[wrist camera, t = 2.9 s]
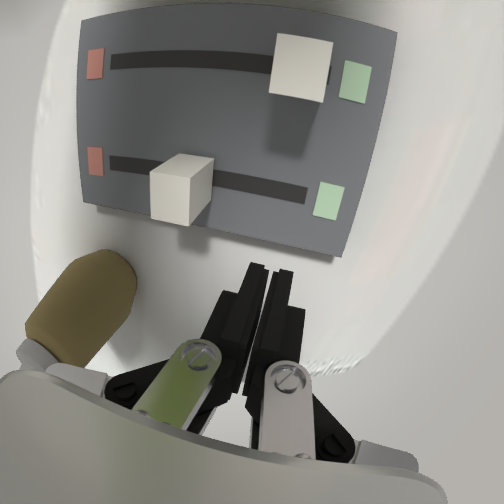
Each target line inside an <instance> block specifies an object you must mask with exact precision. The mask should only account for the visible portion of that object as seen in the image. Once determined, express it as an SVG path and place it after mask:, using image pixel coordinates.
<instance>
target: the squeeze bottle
mask: <svg viewBox="0 0 504 504" xmlns="http://www.w3.org/2000/svg"><path fill="white" fill-rule="evenodd" d="M136 287H137V279H136V276H135V273H134V271H133V269H132V267H131V266H130V265H129V263H128V262H127V261H126V260H125V259H124V258H123V257H121V256H120V255H119V254H117V253H115V252H113V251H110V250H99V251H96V252H94V253H91V254H88V255H86V256H83V257H80V258H78V259H76V260H74V261H73V262H72V263H70V264H69V265H68V267H67V268H66V269H65V270H64V272H63V273H62V274H61V275H60V277H59V278H58V279H57V280H56V282H55V283H54V284H53V286H52V287H51V288H50V289H49V291H48V292H47V293H46V295H45V296H44V297H43V299H42V300H41V301H40V303H39V304H38V306H37V307H36V308H35V310H34V311H33V313H32V314H31V315H30V317H29V318H28V320H27V321H26V323H25V330H26V336H27V339H26V340H24V342H23V343H22V344H21V345H20V347H19V348H18V349H17V350H16V354H17V357H18V358H19V360H20V362H21V363H22V365H21V367H20V369H19V370H33V371H39V372H45V371H46V369H47V368H48V367H49V366H51V365H52V364H55V363H64V364H68V365H72V366H76V367H81V368H85V366H86V365H87V364H88V363H89V362H90V361H91V359H92V358H93V357H94V356H95V355H96V353H97V352H98V351H99V350H100V349H101V348H102V347H103V345H104V344H105V343H106V342H107V341H108V340H109V338H110V337H111V336H112V335H113V334H114V333H115V332H116V330H117V329H118V328H119V327H120V326H121V325H122V324H123V322H124V321H125V320H126V319H127V317H128V315H129V314H130V311H131V307H132V303H133V299H134V295H135V291H136Z"/></svg>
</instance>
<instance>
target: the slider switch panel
mask: <svg viewBox="0 0 504 504" xmlns="http://www.w3.org/2000/svg"><path fill="white" fill-rule="evenodd" d="M277 33H281V34H289V35H295V36H302V37H308V38H313V39H318V40H324V41H328V42H333V48H332V54H331V60H330V66H329V71H328V77H327V83H326V88H325V94H324V99H323V103H322V102H317V101H313V100H308V99H303V98H298V97H292V96H286V95H281V94H274V93H269V87H270V80H271V73H272V66H273V60H274V53H275V46H276V40H277ZM396 39H397V32H395V31H392V30H388V29H385V28H382V27H379V26H375V25H372V24H368V23H365V22H361V21H357V20H353V19H349V18H345V17H340V16H336V15H331V14H326V13H321V12H315V11H309V10H303V9H296V8H288V7H280V6H270V5H257V4H238V3H198V4H179V5H167V6H157V7H149V8H142V9H135V10H128V11H123V12H117V13H112V14H107V15H102V16H98V17H94V18H90V19H86V20H82V21H81V29H80V39H79V50H78V65H77V139H78V155H79V168H80V178H81V187H82V195H83V202H86V203H91V204H96V205H101V206H106V207H110V208H115V209H120V210H125V211H130V212H135V213H140V214H145V215H149V216H151V205H150V171H152V170H153V169H155V168H156V167H158V166H160V165H161V164H163V163H164V162H166V161H168V160H169V159H171V158H172V157H174V156H176V155H177V154H179V153H180V154H188V155H195V156H202V157H208V158H214V167H213V179H212V192H211V200H210V202H209V203H208V204H207V205H206V206H205V208H204V209H203V210H202V211H201V212H200V214H199V215H198V216H197V217H196V218H195V220H194V221H193V222H192V223H191V224H192V225H197V226H202V227H206V228H211V229H215V230H220V231H225V232H229V233H234V234H238V235H243V236H248V237H252V238H257V239H261V240H266V241H270V242H275V243H279V244H284V245H288V246H292V247H297V248H301V249H306V250H310V251H314V252H319V253H323V254H328V255H332V256H336V257H342V254H343V251H344V248H345V245H346V242H347V239H348V236H349V233H350V230H351V227H352V224H353V220H354V217H355V214H356V211H357V207H358V204H359V201H360V197H361V194H362V191H363V187H364V184H365V180H366V177H367V173H368V169H369V166H370V162H371V158H372V154H373V150H374V146H375V142H376V138H377V134H378V130H379V126H380V122H381V117H382V113H383V108H384V104H385V99H386V94H387V89H388V84H389V79H390V74H391V69H392V63H393V57H394V51H395V45H396Z"/></svg>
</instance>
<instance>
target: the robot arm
mask: <svg viewBox="0 0 504 504" xmlns="http://www.w3.org/2000/svg"><path fill="white" fill-rule="evenodd" d="M264 266H265V265H261V264H257V263H253V262H250V265H249V267H248V270H247V272H246V275H245V277H244V280H243V282H242V285H241V287H240V290H239V292H238V294H237V293H233V292H229V291H225V290H223V291H222V293H221V295H220V297H219V299H218V301H217V303H216V306H215V308H214V310H213V312H212V314H211V316H210V319H209V321H208V323H207V325H206V327H205V329H204V332H203V334H202V336H201V338H200V339H192V340H188V341H186V342H184V343H182V344H181V345H180V346H179V347H178V349H177V350H176V351H175V353H174V354H173V355H172V357H171V358H170V359H168V360H165V361H162V362H158V363H155V364H152V365H149V366H146V367H142V368H139V369H136V370H133V371H129V372H126V373H122V374H119V375H117V376H114V377H111V376H108V375H107V373H103V372H98V371H94V370H89V369H85V368H81V367H76V366H72V365H68V364H64V363H55V364H52V365H51V366H49V367H48V368H47V369H46V371H45V372H39V371H33V370H16V371H12V372H9V373H8V374H6V375H5V376H4V377H2V378H1V379H0V504H448V501H447V497H446V494H445V492H444V490H443V488H442V487H441V486H440V485H439V484H438V483H437V482H435V481H434V480H432V479H431V478H429V477H427V476H425V475H422V474H420V473H418V462H417V459H416V458H415V457H414V456H413V455H412V454H410V453H408V452H404V451H400V450H397V449H393V448H389V447H385V446H382V445H379V444H375V443H372V442H368V441H365V440H361V441H357V440H354V439H353V438H352V437H351V435H350V434H349V433H348V432H347V431H346V429H345V428H344V427H343V426H342V425H341V424H340V423H339V422H338V421H337V420H336V419H335V418H334V417H333V416H332V414H331V413H330V412H329V411H328V410H327V409H326V408H325V407H324V406H323V404H322V403H320V401H319V400H318V399H317V398H316V397H315V396H314V394H313V393H312V385H311V378H310V374H309V373H308V371H307V370H306V369H305V368H304V367H303V366H302V365H300V364H299V359H300V352H301V344H302V336H303V328H304V320H305V309H302V308H297V307H293V306H288V301H289V295H290V290H291V284H292V278H293V272H292V271H288V270H283V269H280V270H279V272H275V271H273V275H272V278H271V282H270V286H269V289H268V293H267V297H266V300H265V304H264V308H263V311H262V315H261V318H260V322H259V317H260V312H261V308H262V303H263V298H264V293H265V288H266V284H267V279H268V274H269V270H266V269H264ZM258 322H259V326H258ZM257 326H258V329H257ZM256 329H257V333H256ZM255 333H256V336H255ZM254 336H255V340H254ZM253 340H254V343H253ZM252 343H253V347H252ZM251 347H252V352H251V356H250V361H249V365H248V370H247V375H246V379H245V384H244V388H243V393H242V395H244V396H247V400H246V404H245V408H246V409H247V411H248V412H249V413H250V415H251V416H252V419H251V429H250V442H249V448H246V447H242V446H237V445H234V444H230V443H226V442H222V441H219V440H215V439H211V438H208V437H204V436H202V434H203V432H204V431H205V429H206V427H207V425H208V424H209V422H210V420H211V418H212V416H213V415H214V413H215V411H216V408H217V406H220V405H222V404H224V403H226V402H227V401H228V400H230V397H231V394H232V393H236V394H237V393H238V391H239V387H240V384H241V381H242V377H243V374H244V370H245V367H246V364H247V360H248V357H249V353H250V350H251Z"/></svg>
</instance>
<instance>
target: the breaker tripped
mask: <svg viewBox="0 0 504 504" xmlns="http://www.w3.org/2000/svg"><path fill="white" fill-rule="evenodd" d="M213 167H214V158H208V157H202V156H195V155H188V154H180V153H179V154H177V155H176V156H174V157H172V158H171V159H169V160H168V161H166V162H164V163H163V164H161V165H160V166H158V167H156V168H155V169H153V170H152V171H150V205H151V219H155V220H160V221H165V222H169V223H174V224H179V225H183V226H188V227H189V226H190V224H191V223H192V222H193V221H194V220H195V218H196V217H197V216H198V215H199V214H200V212H201V211H202V210H203V209H204V208H205V206H206V205H207V204H208V203H209V202H210V200H211V192H212V179H213Z"/></svg>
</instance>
